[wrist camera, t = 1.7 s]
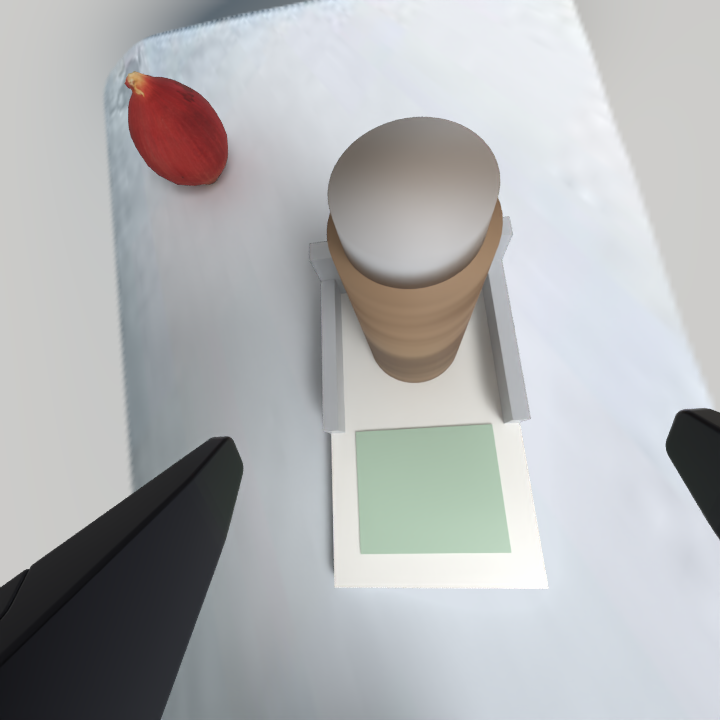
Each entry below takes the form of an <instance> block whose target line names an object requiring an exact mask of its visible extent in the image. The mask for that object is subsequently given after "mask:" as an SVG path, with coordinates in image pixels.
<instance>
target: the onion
mask: <svg viewBox="0 0 720 720" xmlns="http://www.w3.org/2000/svg"><path fill="white" fill-rule="evenodd" d="M125 85H126V86H127V87H128V88H130V89H131V90H132V92H133V93H132V95H131V98H130V101H129V106H128V124H129V131H130V135H131V138H132V140H133V142H134V144H135V147H136V148H137V150H138V151H139V153H140V155H141V156H142V158H143V159H144V161H145V162H146V163H147V165H148V166H149V167H150V168H151V169H152V170H153V171H154V172H156V173H157V174H158V175H159V176H161V177H163V178H165V179H167V180H169V181H171V182H173V183H175V184H177V185H192V186H196V185H202V184H212V183H214V182H215V181H216V180H217V178H218V177H219V176H220V174H221V173H222V171H223V169H224V167H225V165H226V162H227V158H228V143H227V134H226V132H225V129H224V127H223V124H222V122H221V120H220V119H219V117H218V115H217V113H216V112H215V110H214V109H213V108H212V106H211V105H210V104H209V102H208V101H207V100H206V99H205V98H204V97H203V96H202V95H200V94H199V93H198V92H196V91H195V90H193V89H191V88H189V87H187V86H185V85H183V84H181V83H179V82H177V81H175V80H172V79H168V78H163V77H152V76H149V75H144V74H141V73H138V72H135V71H134V72H133V73H130V74H128V76H127V78H126V82H125Z"/></svg>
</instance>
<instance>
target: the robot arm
mask: <svg viewBox="0 0 720 720" xmlns="http://www.w3.org/2000/svg"><path fill="white" fill-rule="evenodd" d="M666 451H667V454H668V456H669V458H670V459H671V461H672V463H673V464H674V466H675V468H676V469H677V471H678V473H679V474H680V476H681V478H682V479H683V481H684V483H685V484H686V486H687V488H688V489H689V491H690V493H691V495H692V496H693V498H694V500H695V501H696V503H697V505H698V506H699V508H700V510H701V511H702V513H703V515H704V516H705V518H706V520H707V521H708V523H709V524H710V526H711V527H712V529H713V531H714V532H715V534H716V535H717V537H718V538H719V539H720V412H717V411H714V410H711V409H707V408H697V409H684V410H681V411H679V412H678V413H677V414H676V416H675V418H674V421H673V424H672V426H671V429H670V432H669V435H668V437H667V440H666ZM242 475H243V463H242V460H241V457H240V455H239V453H238V450H237V448H236V446H235V443H234V441H233V439H232V438H230V437H228V436H225V437H213V438H210V439H209V440H207V441H206V442H205V443H203V444H202V445H200V446H199V447H198V448H196V449H195V450H193V451H192V452H191V453H189V454H188V455H186V456H185V457H184V458H182V459H181V460H179V461H178V462H176V463H175V464H174V465H172V466H171V467H169V468H168V469H167V470H165V471H164V472H162V473H161V474H160V475H158V476H157V477H155V478H154V479H153V480H151V481H150V482H148V483H147V484H146V485H144V486H143V487H141V488H140V489H138V490H137V491H136V492H134V493H133V494H131V495H130V496H129V497H127V498H126V499H124V500H123V501H122V502H120V503H119V504H117V505H116V506H115V507H113V508H112V509H110V510H109V511H107V512H106V513H105V514H103V515H102V516H100V517H99V518H98V519H96V520H95V521H93V522H92V523H91V524H89V525H88V526H86V527H85V528H84V529H82V530H81V531H79V532H78V533H76V534H75V535H74V536H72V537H71V538H70V539H68V540H67V541H66V542H64V543H63V544H61V545H60V546H58V547H57V548H55V549H54V550H53V551H51V552H50V553H48V554H47V555H45V556H44V557H43V558H41V559H40V560H39V561H37V562H36V563H34V564H33V565H32V566H31V567H30V569H26V570H24V571H23V572H21V573H20V574H19V575H17V576H16V577H14V578H13V579H12V580H10V581H9V582H7V583H6V584H5V585H3V586H2V587H0V720H161V717H162V715H163V712H164V709H165V706H166V704H167V701H168V698H169V695H170V693H171V690H172V687H173V684H174V682H175V679H176V676H177V673H178V671H179V668H180V665H181V662H182V659H183V657H184V654H185V651H186V648H187V646H188V643H189V640H190V637H191V635H192V632H193V629H194V626H195V624H196V621H197V618H198V615H199V613H200V610H201V607H202V604H203V602H204V599H205V596H206V593H207V591H208V588H209V585H210V582H211V580H212V577H213V574H214V571H215V568H216V566H217V563H218V560H219V557H220V555H221V552H222V549H223V546H224V543H225V540H226V537H227V533H228V530H229V526H230V522H231V518H232V514H233V510H234V506H235V502H236V499H237V495H238V491H239V487H240V483H241V479H242Z"/></svg>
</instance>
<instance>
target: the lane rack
mask: <svg viewBox="0 0 720 720" xmlns="http://www.w3.org/2000/svg"><path fill="white" fill-rule="evenodd" d="M512 235H513V232H512V227H511V222H510V217H509V216H508V217H503V228H502V235H501V239H500V243H499V246H498V248H497V251H496V253H495V256H494V259H493V261H492V264H491V266H490V269H489V272H488V274H487V277H486V279H485V282H484V284H483V287H482V290H481V292H480V295H479V297H478V300H477V303H476V305H475V308H474V310H473V313H472V315H471V318H470V321H469V323H468V326H467V328H466V331H465V333H464V336H463V339H462V341H461V344H460V346H459V349H458V352H457V354H456V356H455V359H454V361H453V362H452V364H451V365H450V367H449V368H448V369H447V370H446V371H445V372H444V373H442V374H441V375H440V376H438V377H436V378H434V379H432V380H429V381H426V382H421V383H408V382H403V381H399V380H397V379H394V378H392V377H391V376H389V375H388V374H386V373H385V372H384V371H383V370H382V369H381V368H380V367H379V365H378V364H377V362H376V361H375V359H374V356H373V354H372V352H371V349H370V347H369V345H368V342H367V340H366V338H365V335H364V333H363V330H362V328H361V326H360V323H359V321H358V319H357V316H356V314H355V312H354V309H353V307H352V304H351V302H350V300H349V297H348V295H347V293H346V290H345V288H344V286H343V283H342V281H341V278H340V276H339V274H338V271H337V269H336V267H335V264H334V262H333V260H332V257H331V254H330V251H329V247H328V242H327V241H324V242H317V243H310V244H309V245H310V262H311V264H312V266H313V268H314V269H315V271H316V273H317V275H318V277H319V279H320V281H321V329H322V398H323V431H324V432H327V433H331V444H332V491H333V539H334V586H335V588H522V589H549V588H548V582H547V577H546V571H545V565H544V559H543V553H542V548H541V542H540V536H539V530H538V524H537V518H536V513H535V507H534V501H533V495H532V489H531V484H530V478H529V472H528V466H527V460H526V455H525V449H524V443H523V437H522V431H521V426H520V422H523V421H526V420H529V419H531V416H530V411H529V405H528V400H527V394H526V389H525V383H524V378H523V372H522V367H521V361H520V356H519V350H518V345H517V339H516V334H515V328H514V323H513V317H512V312H511V306H510V301H509V295H508V290H507V284H506V279H505V273H504V268H503V262H502V258H503V256H504V253H505V251H506V249H507V247H508V244H509V242H510V240H511V237H512Z"/></svg>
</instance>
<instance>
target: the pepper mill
mask: <svg viewBox="0 0 720 720" xmlns="http://www.w3.org/2000/svg"><path fill="white" fill-rule="evenodd" d="M499 189H500V172H499V168H498V163H497V161H496V159H495V156H494V154H493V153H492V151H491V149H490V148H489V146H488V145H487V144H486V143H485V142H484V140H483V139H482V138H480V137H479V136H478V135H477V134H476V133H474V132H473V131H471V130H470V129H468V128H466V127H464V126H462V125H460V124H458V123H455V122H452V121H449V120H445V119H440V118H433V117H412V118H404V119H399V120H395V121H392V122H389V123H386V124H383V125H381V126H378V127H376V128H374V129H372V130H370V131H369V132H367V133H365V134H364V135H362V136H361V137H360V138H358V139H357V140H356V141H355V142H354V143H352V144H351V145H350V146H349V147H348V148H347V149H346V150H345V152H344V153H343V154H342V156H341V157H340V158H339V160H338V162H337V163H336V165H335V167H334V169H333V171H332V174H331V177H330V181H329V184H328V205H329V210H330V215H329V219H328V225H327V242H328V247H329V251H330V254H331V257H332V260H333V262H334V264H335V267H336V269H337V271H338V274H339V276H340V278H341V281H342V283H343V286H344V288H345V290H346V293H347V295H348V297H349V300H350V302H351V304H352V307H353V309H354V312H355V314H356V316H357V319H358V321H359V323H360V326H361V328H362V330H363V333H364V335H365V338H366V340H367V342H368V345H369V347H370V349H371V352H372V354H373V356H374V359H375V361H376V362H377V364H378V365H379V367H380V368H381V369H382V370H383V371H384V372H385V373H386V374H388V375H389V376H391V377H392V378H394V379H397V380H399V381H403V382H408V383H421V382H426V381H429V380H432V379H434V378H436V377H438V376H440V375H441V374H442V373H444V372H445V371H446V370H447V369H448V368H449V367H450V365H451V364H452V362H453V361H454V359H455V356H456V354H457V352H458V349H459V346H460V344H461V341H462V339H463V336H464V333H465V331H466V328H467V326H468V323H469V321H470V318H471V315H472V313H473V310H474V308H475V305H476V303H477V300H478V297H479V295H480V292H481V290H482V287H483V284H484V282H485V279H486V277H487V274H488V272H489V269H490V266H491V264H492V261H493V259H494V256H495V253H496V251H497V248H498V246H499V243H500V239H501V235H502V228H503V216H502V210H501V205H500V202H499V199H498V194H499Z"/></svg>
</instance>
